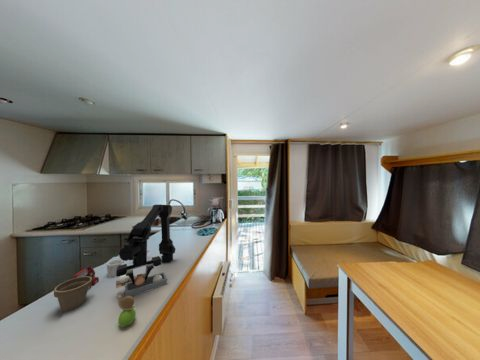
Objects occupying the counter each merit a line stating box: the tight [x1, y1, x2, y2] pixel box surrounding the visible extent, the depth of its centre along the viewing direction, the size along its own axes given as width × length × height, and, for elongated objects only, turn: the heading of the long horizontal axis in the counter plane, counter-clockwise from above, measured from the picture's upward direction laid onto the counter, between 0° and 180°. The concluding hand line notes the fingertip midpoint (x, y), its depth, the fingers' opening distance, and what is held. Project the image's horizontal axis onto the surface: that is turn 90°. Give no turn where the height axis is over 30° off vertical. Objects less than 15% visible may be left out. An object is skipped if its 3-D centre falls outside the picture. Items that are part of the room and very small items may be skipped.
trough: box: [124, 272, 168, 298], centre depth 81 cm, size 18×8×4 cm, turn 127°
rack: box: [115, 272, 145, 289], centre depth 87 cm, size 14×7×2 cm, turn 127°
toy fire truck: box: [72, 265, 100, 291], centre depth 81 cm, size 7×12×10 cm, turn 9°
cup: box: [106, 258, 125, 278], centre depth 93 cm, size 11×8×8 cm
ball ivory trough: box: [152, 273, 163, 283], centre depth 84 cm, size 4×4×4 cm
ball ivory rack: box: [118, 274, 130, 283], centre depth 85 cm, size 4×4×4 cm
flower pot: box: [53, 276, 92, 313], centre depth 69 cm, size 12×11×10 cm
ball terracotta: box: [134, 275, 145, 287], centre depth 80 cm, size 4×4×4 cm
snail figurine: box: [116, 291, 137, 328], centre depth 61 cm, size 5×6×12 cm
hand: (139, 282), depth 80 cm, fingers closed on ball terracotta, 4 cm apart
